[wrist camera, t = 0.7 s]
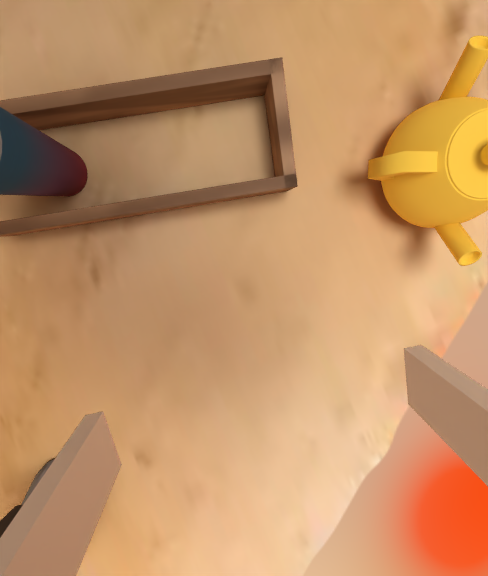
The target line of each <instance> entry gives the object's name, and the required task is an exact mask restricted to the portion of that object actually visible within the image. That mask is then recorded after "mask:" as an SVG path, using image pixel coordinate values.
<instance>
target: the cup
mask: <svg viewBox="0 0 488 576" xmlns="http://www.w3.org/2000/svg"><path fill="white" fill-rule="evenodd" d="M86 181H87V169H86V166H85V163H84V162H83V160H82V159H81V157H80V156H79V155H77V154H76V153H75V152H73V151H72V150H70V149H68V148H67V147H65V146H63V145H62V144H60V143H59V142H57V141H55V140H54V139H52V138H50V137H49V136H47V135H45V134H44V133H42V132H41V131H39V130H37V129H36V128H34V127H32V126H31V125H29V124H27V123H26V122H24V121H23V120H21V119H19V118H18V117H16V116H14V115H13V114H11V113H9V112H8V111H6V110H4V109H3V108H1V107H0V195H34V196H72V195H75V194H77V193H79V192H80V191H81V190H82V189H83V188H84V186H85V184H86Z"/></svg>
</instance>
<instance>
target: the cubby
mask: <svg viewBox="0 0 488 576" xmlns="http://www.w3.org/2000/svg"><path fill="white" fill-rule="evenodd" d="M262 95H264V96H265V103H266V111H267V118H268V126H269V133H270V141H271V148H272V156H273V163H274V171H275V177H272V178H266V179H260V180H253V181H247V182H241V183H235V184H229V185H223V186H217V187H210V188H204V189H198V190H192V191H186V192H180V193H173V194H167V195H161V196H155V197H149V198H143V199H137V200H130V201H124V202H118V203H112V204H106V205H100V206H94V207H87V208H81V209H75V210H69V211H63V212H57V213H51V214H44V215H38V216H32V217H26V218H20V219H14V220H8V221H1V222H0V237H1V236H15V235H21V234H27V233H33V232H40V231H46V230H52V229H58V228H64V227H70V226H76V225H82V224H88V223H94V222H100V221H107V220H113V219H119V218H125V217H131V216H137V215H143V214H149V213H155V212H161V211H168V210H174V209H180V208H186V207H192V206H198V205H204V204H210V203H216V202H222V201H229V200H235V199H241V198H247V197H253V196H259V195H265V194H271V193H277V192H283V191H288V190H290V189H293V188H295V187H297V178H296V169H295V161H294V153H293V144H292V136H291V127H290V119H289V111H288V102H287V94H286V85H285V77H284V68H283V60H282V58H275V59H269V60H262V61H256V62H249V63H243V64H236V65H230V66H223V67H217V68H210V69H204V70H197V71H191V72H184V73H178V74H171V75H164V76H158V77H151V78H145V79H138V80H132V81H125V82H119V83H112V84H106V85H99V86H93V87H86V88H80V89H73V90H66V91H60V92H53V93H47V94H40V95H34V96H27V97H21V98H14V99H8V100H1V101H0V107H1V108H3V109H4V110H6V111H8V112H9V113H11V114H13V115H14V116H16V117H18V118H19V119H21V120H23V121H24V122H26V123H27V124H29V125H31V126H32V127H34V128H36V129H37V130H44V129H50V128H57V127H63V126H70V125H76V124H82V123H89V122H95V121H102V120H108V119H115V118H121V117H127V116H134V115H140V114H147V113H153V112H159V111H166V110H172V109H179V108H185V107H191V106H198V105H204V104H211V103H217V102H224V101H230V100H236V99H243V98H249V97H256V96H262Z"/></svg>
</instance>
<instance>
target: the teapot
mask: <svg viewBox="0 0 488 576" xmlns="http://www.w3.org/2000/svg"><path fill="white" fill-rule="evenodd" d="M487 59H488V37H486V36H474V37H472V38H470V39H469V41H468V43H467V45H466V47H465V49H464V51H463V53H462V55H461V57H460V59H459V61H458V63H457V65H456V67H455V69H454V71H453V73H452V75H451V77H450V79H449V81H448V83H447V85H446V87H445V89H444V91H443V93H442V95H441V97H440V99H439V100H438V101H435V102H432V103H429V104H427V105H425V106H423V107H421V108H419V109H417V110H416V111H414V112H412V113H411V114H410V115H408V116H407V117H406V118H405V119H404V120H403V121H402V122H401V123H400V124H399V125H398V126H397V128H396V129H395V130H394V132H393V133H392V135H391V137H390V139H389V141H388V143H387V145H386V147H385V150H384V153H383V156H382V157H378V158H374V159H370V160H369V164H368V179H374V180H380V181H381V183H382V188H383V192H384V195H385V197H386V199H387V201H388V203H389V205H390V206H391V208H392V209H393V210H394V211H395V212H396V213H397V214H398V215H399V216H400V217H401V218H403V219H404V220H406V221H407V222H409V223H411V224H414V225H416V226H420V227H426V228H435V229H436V231H437V232H438V234H439V235H440V237H441V238H442V240H443V241H444V243H445V244H446V246H447V247H448V249H449V250H450V252H451V253H452V255H453V256H454V257H455V259H456V260H457V262H458V263H459V265H462V266H466V265H470V264H472V263H474V262H476V261H477V260H479V259H480V257H481V256H482V252H481V251H480V250H479V248H478V247H477V246H476V244H475V243H474V242H473V240H472V239H471V238H470V236H469V235H468V234H467V232H466V231H465V230H464V228H463V227H462V225H461V224H460V223H463V222H466V221H468V220H471V219H473V218H475V217H477V216H479V215H481V214H482V213H484V212H485V211H487V210H488V100H486V99H482V98H476V97H467V95H468V93H469V91H470V89H471V88H472V86H473V84H474V82H475V80H476V79H477V77H478V75H479V73H480V71H481V70H482V68H483V66H484V64H485V62H486V61H487Z"/></svg>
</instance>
